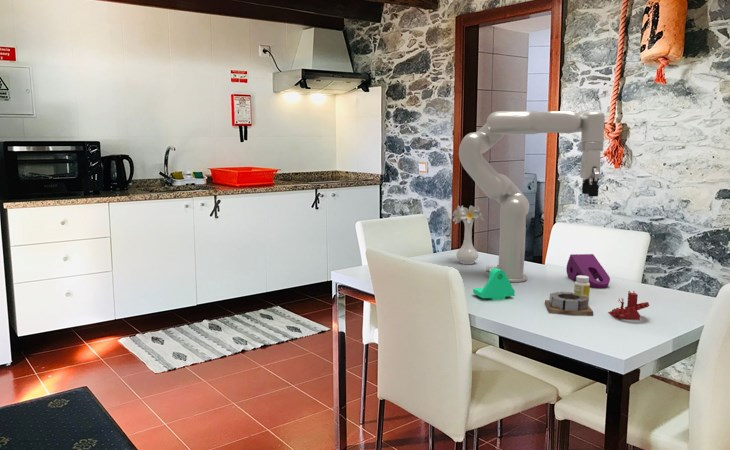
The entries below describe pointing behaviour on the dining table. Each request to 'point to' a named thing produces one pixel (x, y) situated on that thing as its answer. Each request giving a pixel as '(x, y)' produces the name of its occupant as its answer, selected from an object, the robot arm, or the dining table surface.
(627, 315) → the red toothed piece
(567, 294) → the hub
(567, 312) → the block
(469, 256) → the flower vase
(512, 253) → the robot arm
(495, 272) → the camera mount
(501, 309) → the dining table surface
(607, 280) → the mounting bracket
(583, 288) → the supplement bottle
